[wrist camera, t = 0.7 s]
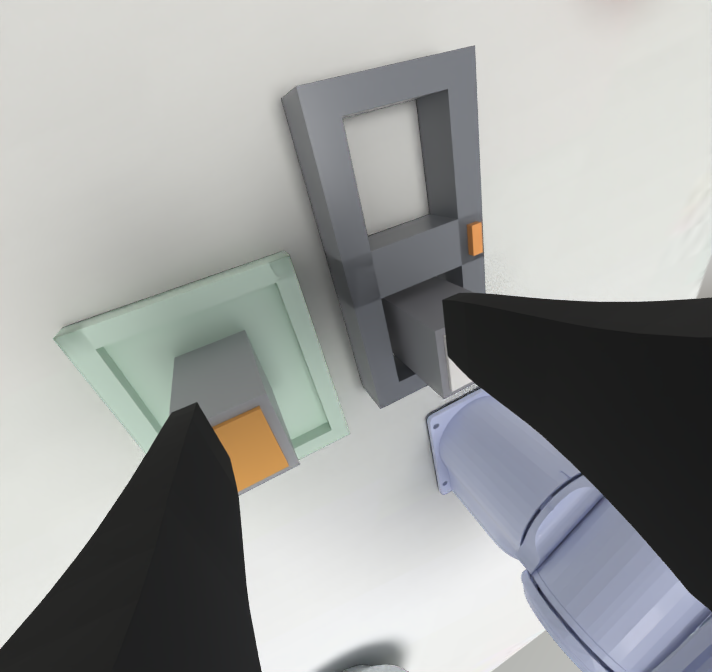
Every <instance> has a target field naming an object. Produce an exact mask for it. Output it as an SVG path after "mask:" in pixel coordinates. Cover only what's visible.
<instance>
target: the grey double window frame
mask: <svg viewBox="0 0 712 672" xmlns="http://www.w3.org/2000/svg"><path fill="white" fill-rule="evenodd" d="M281 100H282V103H283V107H284V110H285V114H286V117H287V121H288V124H289V128H290V131H291V135H292V138H293V142H294V145H295V149H296V152H297V156H298V159H299V163H300V166H301V170H302V173H303V177H304V180H305V184H306V188H307V191H308V195H309V198H310V202H311V205H312V209H313V212H314V216H315V219H316V223H317V226H318V230H319V233H320V237H321V240H322V244H323V247H324V251H325V254H326V258H327V261H328V265H329V268H330V272H331V275H332V279H333V282H334V286H335V289H336V293H337V296H338V300H339V304H340V307H341V311H342V314H343V318H344V321H345V325H346V328H347V332H348V335H349V339H350V342H351V346H352V349H353V353H354V356H355V360H356V363H357V367H358V370H359V374H360V377H361V381H362V384H363V387H364V389H365V390H366V391H367V392H368V394H369V395H370V396H371V397H372V399H373V400H374V401H375V402H376V404H377V405H378V406H379V407H380V409H381V408H383V407H385V406H387V405H389V404H391V403H393V402H395V401H397V400H399V399H401V398H403V397H405V396H407V395H409V394H411V393H413V392H415V391H417V390H419V389H421V388H423V387H425V386H427V385H428V384H427V383H425V382H424V381H423V380H422V379H421V378H420V377H419V376H418V375H416V374H415V373H414V372H413V371H412V370H411V369H410V368H409V367H408V366H406V365H405V364H404V363H403V362H402V361H401V360H400V359H399V358H398V357H396V356H393V352H392V347H391V343H390V338H389V333H388V329H387V324H386V319H385V315H384V310H383V305H382V301H381V299H382V298H384V297H387V296H389V295H392V294H394V293H396V292H399V291H401V290H404V289H406V288H408V287H411V286H413V285H416V284H418V283H421V282H423V281H425V280H428V279H430V278H433V277H435V276H437V277H439V278H441V279H443V280H446V281H448V282H451V283H453V284H455V285H458V286H460V287H462V288H465V289H467V290H469V291H472V292H474V293H485V269H484V246H483V222H482V199H481V175H480V152H479V129H478V105H477V82H476V58H475V45H474V46H470V47H466V48H461V49H457V50H452V51H448V52H444V53H439V54H435V55H431V56H426V57H422V58H417V59H413V60H409V61H404V62H400V63H395V64H391V65H387V66H382V67H378V68H374V69H369V70H365V71H360V72H356V73H352V74H347V75H343V76H338V77H334V78H330V79H325V80H321V81H317V82H312V83H308V84H303V85H299V86H296V87H294V88H293V89H292V90H291V91H290V92H288V93H287V94H286V95H285V96H284V97H282V98H281ZM412 100H416V102H417V110H418V119H419V127H420V136H421V144H422V153H423V161H424V170H425V178H426V186H427V195H428V203H429V212H430V214H429V215H426V216H423V217H420V218H418V219H415V220H412V221H409V222H407V223H404V224H401V225H398V226H395V227H393V228H390V229H387V230H384V231H382V232H379V233H376V234H373V235H370V236H368V235H367V231H366V226H365V221H364V217H363V212H362V207H361V203H360V198H359V193H358V189H357V184H356V179H355V175H354V170H353V165H352V161H351V156H350V151H349V147H348V142H347V137H346V133H345V128H344V123H343V118H347V117H351V116H354V115H358V114H362V113H366V112H370V111H374V110H377V109H381V108H385V107H389V106H393V105H396V104H400V103H404V102H408V101H412ZM485 294H486V293H485Z"/></svg>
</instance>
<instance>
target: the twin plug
mask: <svg viewBox="0 0 712 672" xmlns="http://www.w3.org/2000/svg"><path fill="white" fill-rule="evenodd" d="M457 293H474V292H472V291H469V290H467V289H465V288H462V287H460V286H458V285H455V284H453V283H451V282H448V281H446V280H443V279H441V278H439V277H436V276H435V277H433V278H430V279H428V280H425V281H423V282H421V283H418V284H416V285H413V286H411V287H408V288H406V289H404V290H401V291H399V292H396V293H394V294H392V295H389V296H387V297H384V298H382V299H381V301H382V305H383V310H384V315H385V319H386V324H387V329H388V333H389V338H390V343H391V347H392V352H393V354H394V355H395V356H396V357H398V358H399V359H400V360H401V361H402V362H403V363H404V364H405V365H406V366H408V367H409V368H410V369H411V370H412V371H413V372H414V373H415V374H416V375H418V376H419V377H420V378H421V379H422V380H423V381H424V382H425V383H427V384H428V385H429V386H430V387H431V388H432V389H433V390H434V391H435V392H437V393H438V394H439V395H440V396H441V397H442V398H443V399H445V398H447V397H449V396H451V395H453V394H455V393H457V392H459V391H460V390H462V389H464V388H466V387H468V386H470V385H472V384H474V382H473V381H472V380H470V379H469V378H468V377H467V376H466V375H465V374H464V373H463V372H462V371H461V370H460V369H459V368H458V367H457V366H456V365H455V364H454V363H453V362H452V360H451V359H450V358H449V357H448V355H447V345H446V335H445V325H444V315H443V305H442V300H443V299H445V298H448V297H450V296H453V295H455V294H457Z"/></svg>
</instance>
